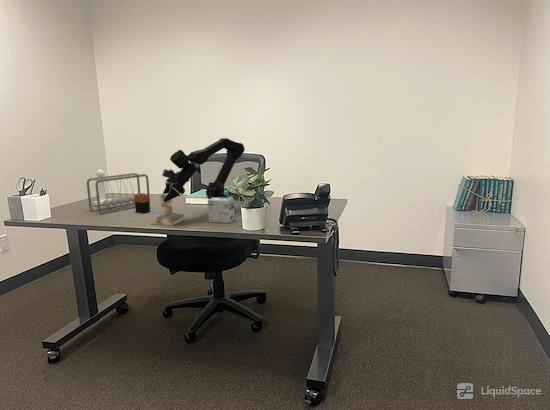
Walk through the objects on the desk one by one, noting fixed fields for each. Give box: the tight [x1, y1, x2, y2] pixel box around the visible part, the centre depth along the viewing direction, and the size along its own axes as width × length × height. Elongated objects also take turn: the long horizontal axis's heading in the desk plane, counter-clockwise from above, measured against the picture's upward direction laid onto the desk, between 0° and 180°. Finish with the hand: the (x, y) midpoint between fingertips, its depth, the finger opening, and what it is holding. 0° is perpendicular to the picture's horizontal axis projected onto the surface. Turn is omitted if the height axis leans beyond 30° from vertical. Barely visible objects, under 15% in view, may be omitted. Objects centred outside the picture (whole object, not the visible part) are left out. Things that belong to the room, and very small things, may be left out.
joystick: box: [93, 169, 112, 207], centre depth 231 cm, size 11×8×20 cm
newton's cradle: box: [86, 172, 151, 215], centre depth 221 cm, size 30×10×18 cm, turn 140°
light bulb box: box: [207, 197, 236, 224], centre depth 191 cm, size 11×7×11 cm, turn 77°
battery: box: [134, 192, 151, 214], centre depth 212 cm, size 4×7×10 cm, turn 54°
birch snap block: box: [159, 193, 174, 217], centre depth 189 cm, size 5×5×10 cm
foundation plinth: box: [149, 212, 185, 227], centre depth 191 cm, size 11×11×3 cm
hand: (162, 199), depth 188 cm, fingers open, 9 cm apart
